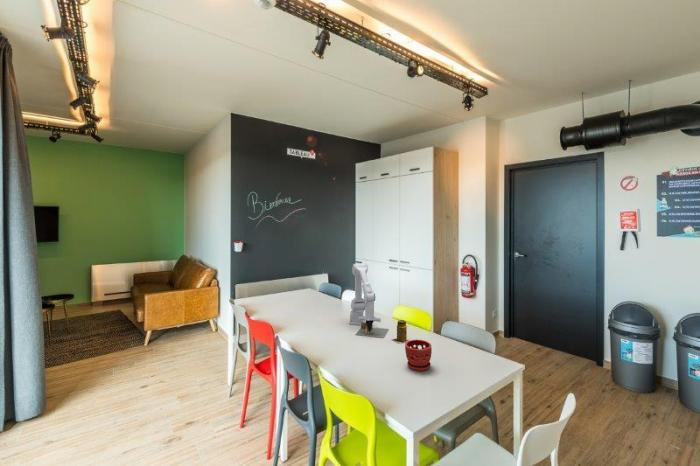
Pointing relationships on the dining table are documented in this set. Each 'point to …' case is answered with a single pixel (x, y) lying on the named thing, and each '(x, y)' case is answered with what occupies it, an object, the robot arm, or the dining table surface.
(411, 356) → the plant pot
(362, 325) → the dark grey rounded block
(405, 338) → the condiment
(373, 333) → the card
